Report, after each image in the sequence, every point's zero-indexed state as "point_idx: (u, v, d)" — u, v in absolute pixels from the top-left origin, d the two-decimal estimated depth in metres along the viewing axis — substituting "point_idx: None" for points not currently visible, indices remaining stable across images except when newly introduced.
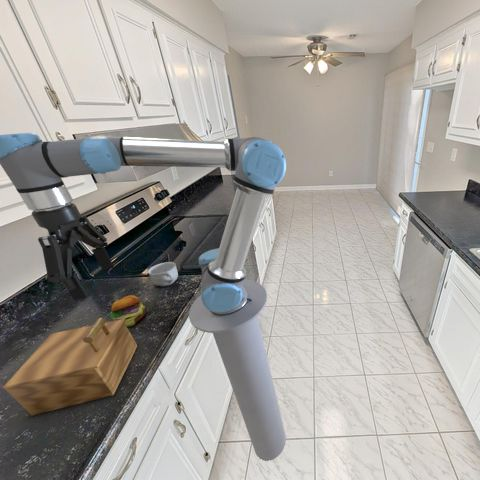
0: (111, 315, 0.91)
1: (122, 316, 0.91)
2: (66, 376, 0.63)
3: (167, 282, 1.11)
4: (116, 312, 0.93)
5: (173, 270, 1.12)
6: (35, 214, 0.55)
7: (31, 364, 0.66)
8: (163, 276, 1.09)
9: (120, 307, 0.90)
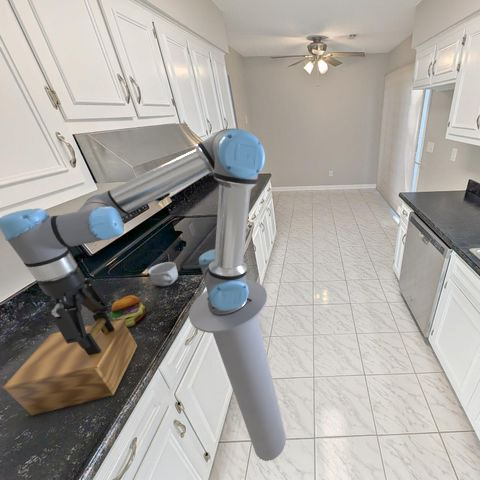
0: (111, 315, 0.91)
1: (122, 316, 0.91)
2: (66, 376, 0.63)
3: (167, 282, 1.11)
4: (116, 312, 0.93)
5: (173, 270, 1.12)
6: (42, 284, 0.57)
7: (31, 364, 0.66)
8: (163, 276, 1.09)
9: (120, 307, 0.90)
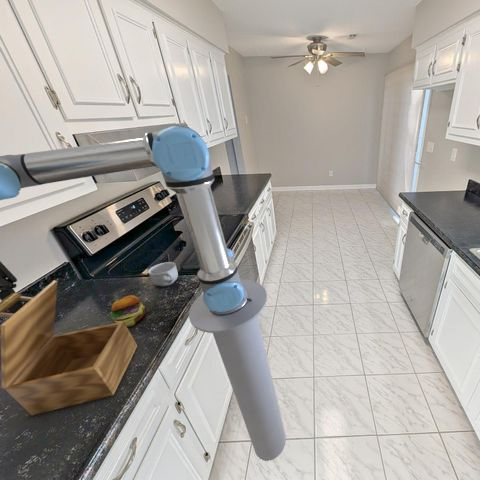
0: (111, 315, 0.91)
1: (122, 316, 0.91)
2: (66, 376, 0.63)
3: (167, 282, 1.11)
4: (116, 312, 0.93)
5: (173, 270, 1.12)
6: None
7: None
8: (163, 276, 1.09)
9: (120, 307, 0.90)
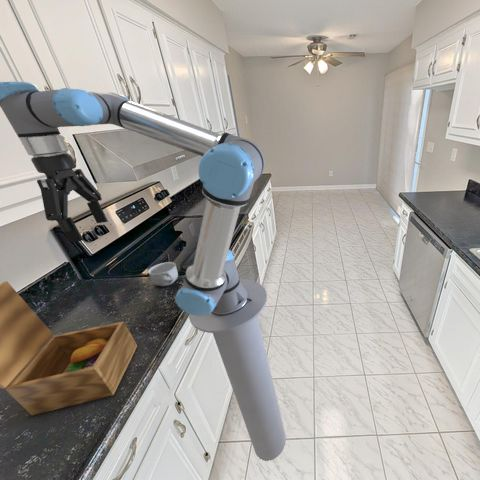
0: (70, 368, 0.71)
1: None
2: (66, 376, 0.63)
3: (167, 282, 1.11)
4: (77, 363, 0.73)
5: (173, 270, 1.12)
6: (34, 159, 0.61)
7: None
8: (163, 276, 1.09)
9: (80, 359, 0.70)
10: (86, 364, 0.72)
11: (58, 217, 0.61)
